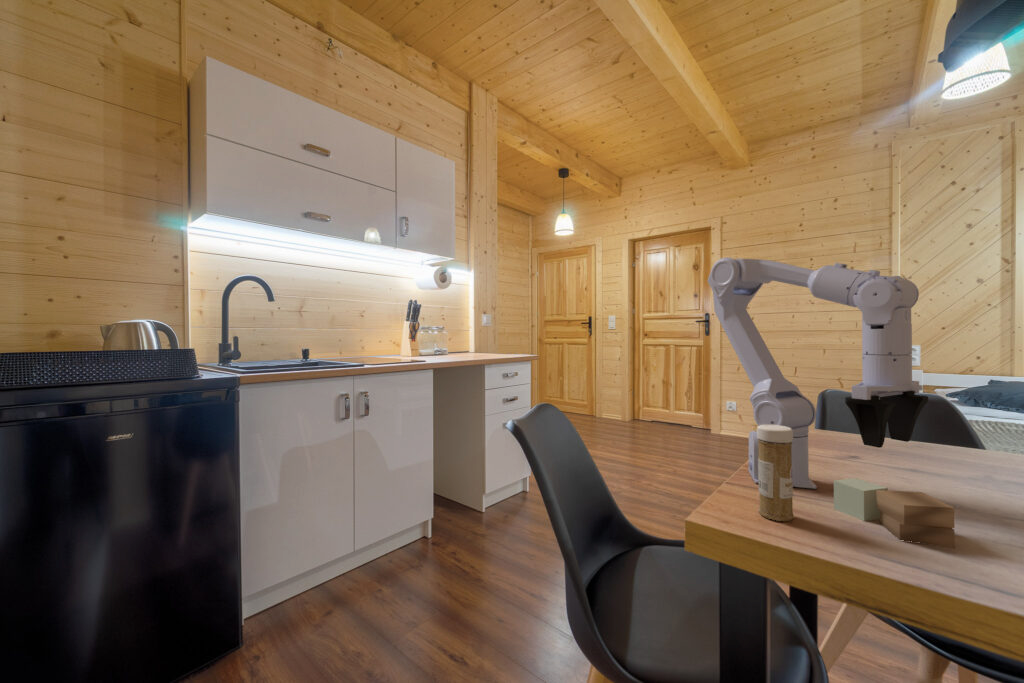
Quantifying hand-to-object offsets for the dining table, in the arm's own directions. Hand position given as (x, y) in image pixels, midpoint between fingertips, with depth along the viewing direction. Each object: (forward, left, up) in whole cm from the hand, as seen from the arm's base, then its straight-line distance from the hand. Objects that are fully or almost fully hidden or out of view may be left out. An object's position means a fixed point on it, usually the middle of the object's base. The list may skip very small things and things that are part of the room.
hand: (886, 443), depth 65 cm
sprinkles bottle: (-16, -8, -10) cm, 21 cm away
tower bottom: (0, -9, -11) cm, 14 cm away
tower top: (0, -9, -8) cm, 12 cm away
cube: (-4, -3, -10) cm, 12 cm away
